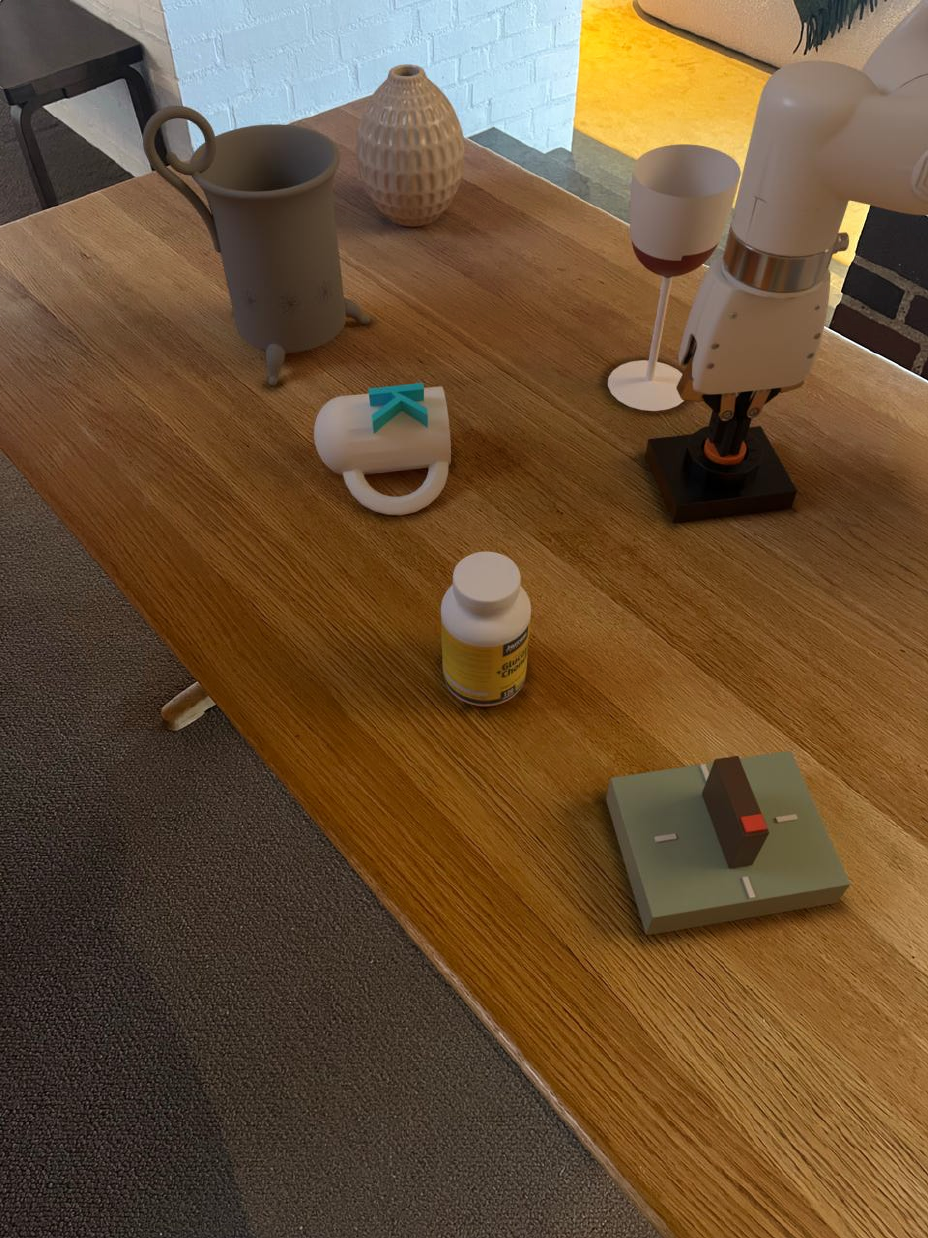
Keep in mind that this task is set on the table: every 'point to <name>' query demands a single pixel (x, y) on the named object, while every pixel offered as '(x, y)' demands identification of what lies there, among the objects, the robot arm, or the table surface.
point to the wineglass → (672, 246)
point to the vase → (410, 148)
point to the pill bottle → (485, 630)
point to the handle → (734, 812)
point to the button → (726, 460)
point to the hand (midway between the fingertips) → (723, 445)
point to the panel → (693, 858)
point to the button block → (718, 478)
